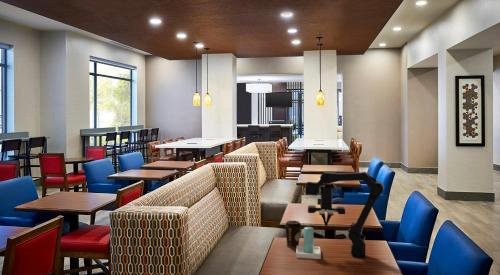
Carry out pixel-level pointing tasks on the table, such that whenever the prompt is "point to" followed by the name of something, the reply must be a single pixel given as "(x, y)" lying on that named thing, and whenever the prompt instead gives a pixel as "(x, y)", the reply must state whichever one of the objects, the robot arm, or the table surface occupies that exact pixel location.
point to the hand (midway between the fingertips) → (326, 226)
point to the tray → (302, 254)
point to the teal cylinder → (308, 240)
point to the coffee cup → (292, 233)
